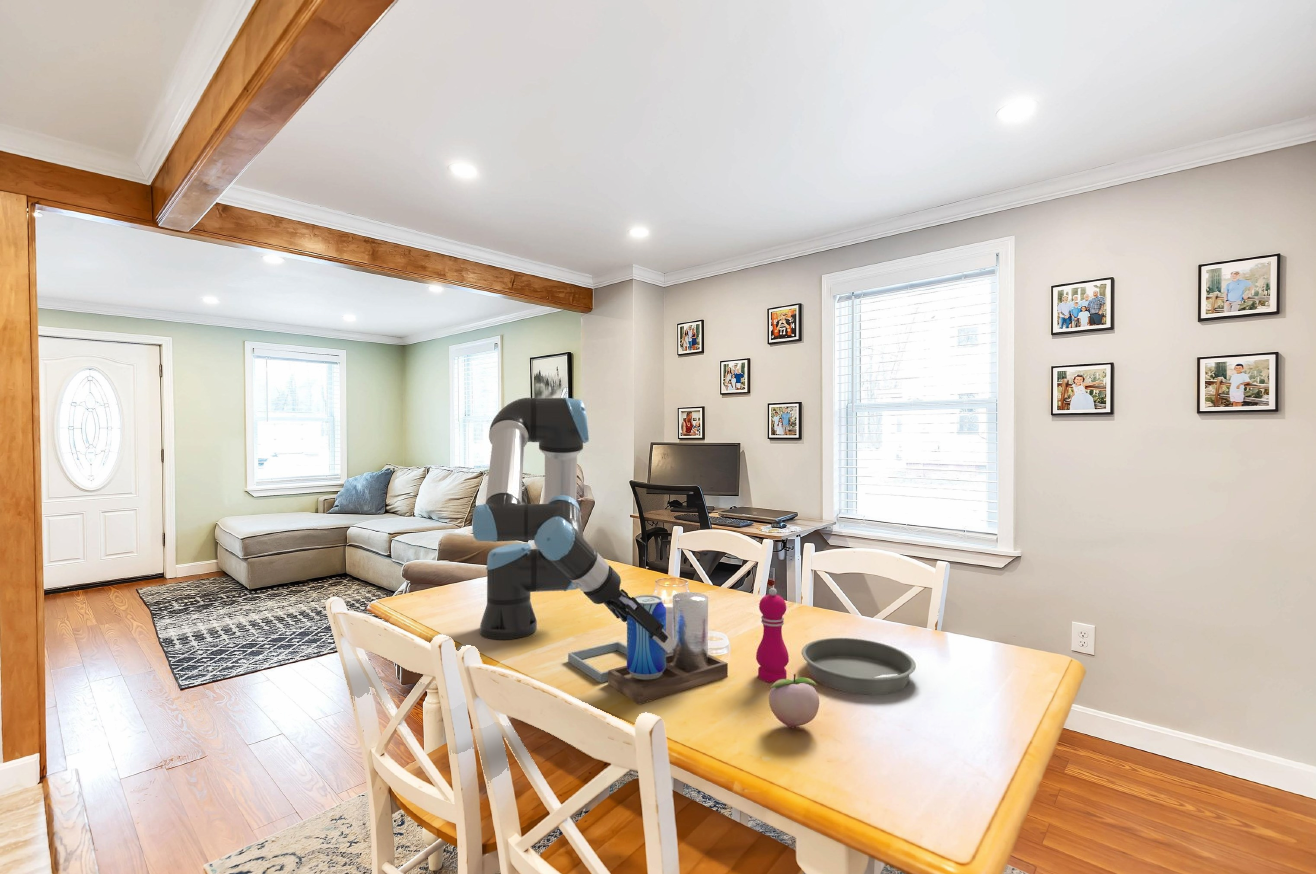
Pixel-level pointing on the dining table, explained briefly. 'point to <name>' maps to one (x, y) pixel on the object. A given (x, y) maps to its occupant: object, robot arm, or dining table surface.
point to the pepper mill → (772, 639)
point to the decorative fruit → (794, 701)
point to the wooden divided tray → (665, 680)
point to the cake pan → (858, 665)
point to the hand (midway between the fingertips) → (659, 641)
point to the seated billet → (690, 631)
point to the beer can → (646, 642)
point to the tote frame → (590, 652)
